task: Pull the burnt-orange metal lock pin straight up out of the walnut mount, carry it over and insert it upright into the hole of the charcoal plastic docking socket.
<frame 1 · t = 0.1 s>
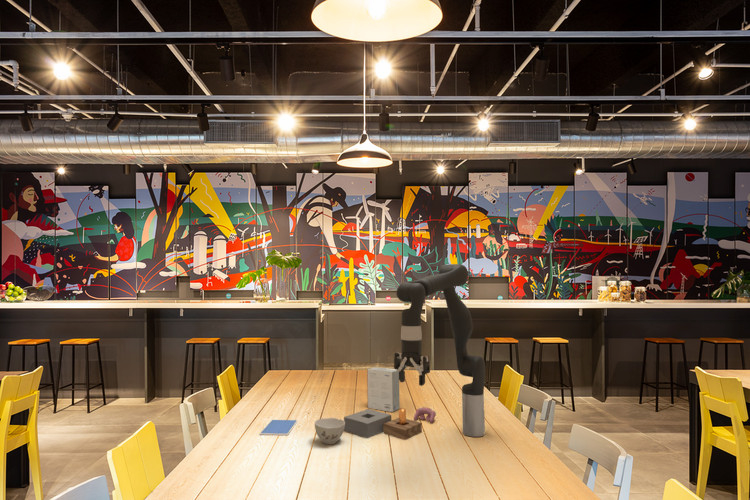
hand: (411, 383, 159), 29 cm above the table, fingers open, 8 cm apart
teacup: (330, 441, 183), on the table
video game controller: (424, 421, 208), on the table
pin mount: (402, 432, 192), on the table
hard drive box: (383, 408, 228), on the table
dock socket: (367, 429, 196), on the table
blue book: (279, 429, 199), on the table
lock pin: (402, 420, 192), in the pin mount
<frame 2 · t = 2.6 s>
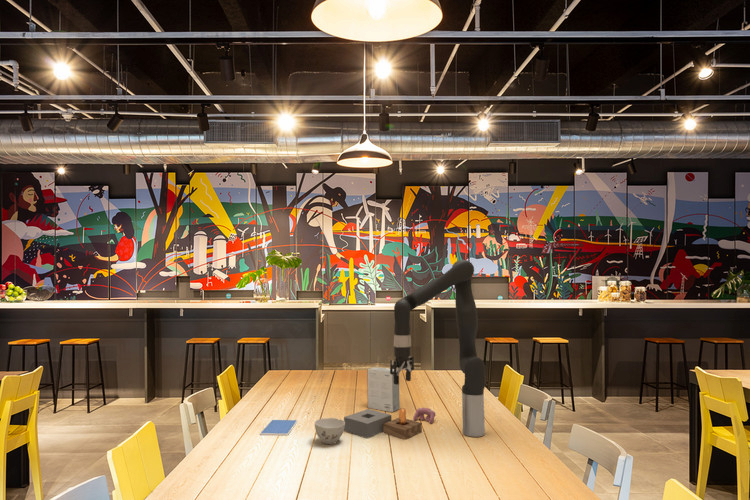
hand: (402, 382, 193), 21 cm above the table, fingers open, 8 cm apart
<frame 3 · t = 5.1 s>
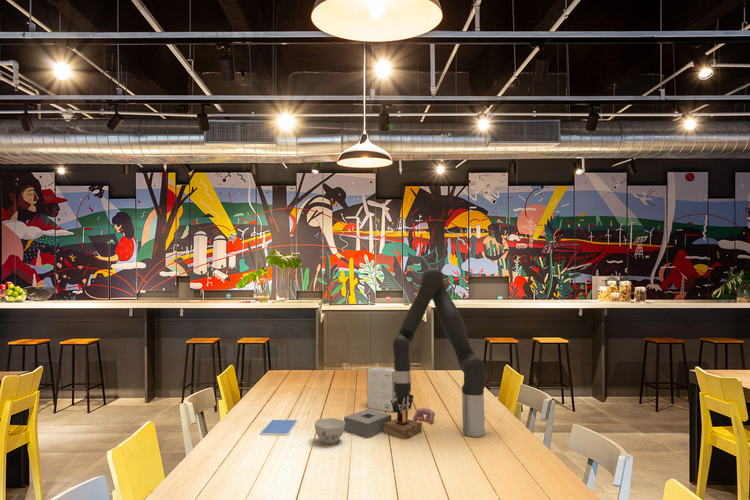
hand: (402, 420, 192), 5 cm above the table, fingers closed on lock pin, 3 cm apart
lock pin: (402, 420, 192), in the pin mount, touching gripper
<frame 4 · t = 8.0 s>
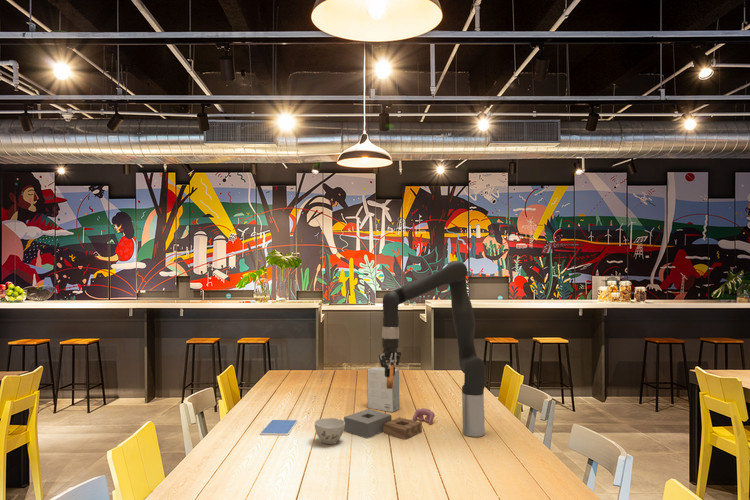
hand: (389, 376, 195), 24 cm above the table, fingers closed on lock pin, 3 cm apart
lock pin: (389, 376, 195), point 24 cm above the table, touching gripper
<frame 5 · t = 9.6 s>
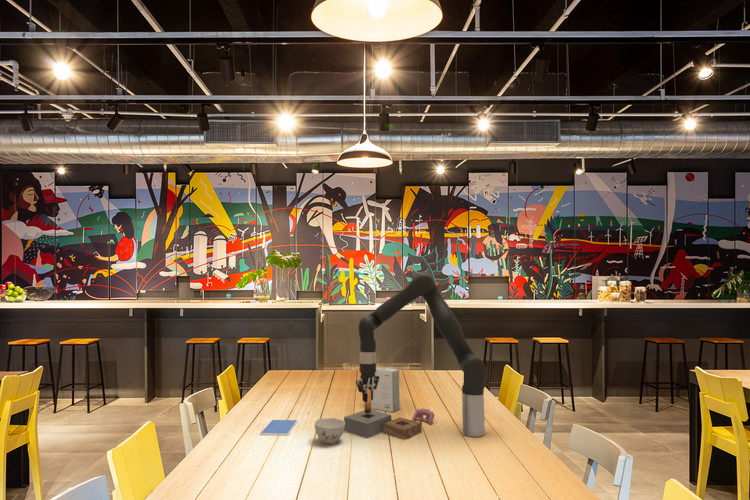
hand: (367, 400, 197), 13 cm above the table, fingers closed on lock pin, 3 cm apart
lock pin: (367, 400, 197), point 13 cm above the table, touching gripper
when the fingers open (7 cm above the table, at t = 11.0 s): lock pin drops 2 cm, resting in dock socket.
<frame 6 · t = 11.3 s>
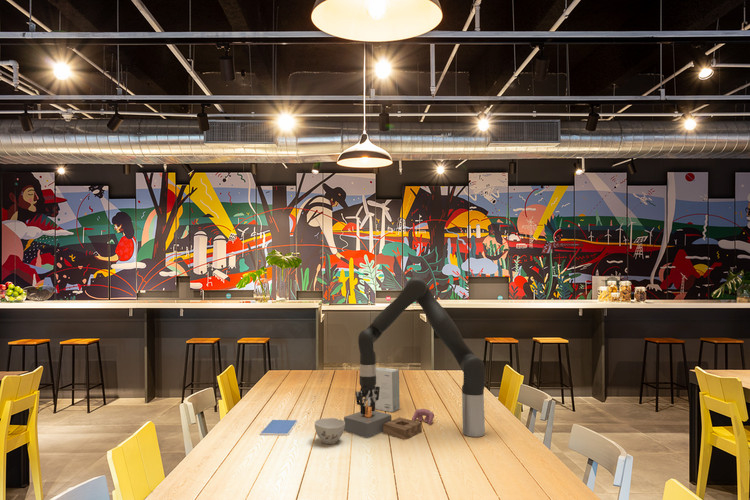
hand: (367, 412, 196), 8 cm above the table, fingers open, 5 cm apart
lock pin: (368, 418, 196), in the dock socket
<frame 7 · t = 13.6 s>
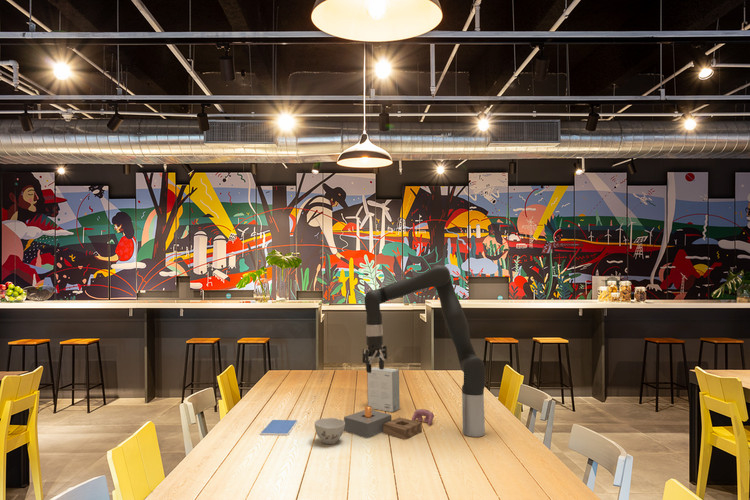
hand: (375, 370, 198), 26 cm above the table, fingers open, 8 cm apart
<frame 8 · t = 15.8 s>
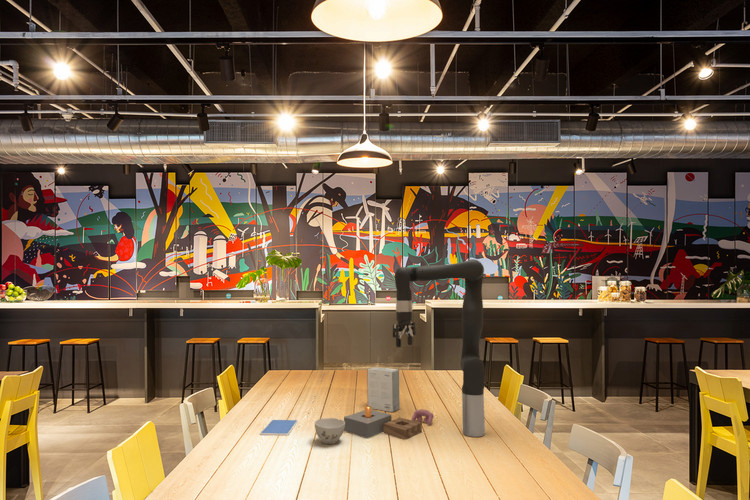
hand: (404, 346, 202), 36 cm above the table, fingers open, 8 cm apart
at the end: lock pin 0.1 cm off-centre on the dock socket, point 5.0 cm above the dock socket's base; lock pin tilted 0°; the gripper is holding nothing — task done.
